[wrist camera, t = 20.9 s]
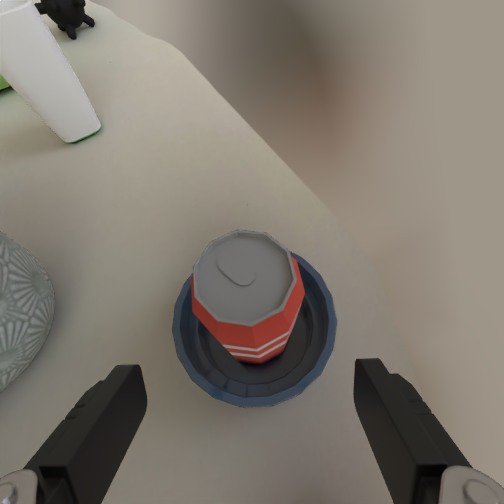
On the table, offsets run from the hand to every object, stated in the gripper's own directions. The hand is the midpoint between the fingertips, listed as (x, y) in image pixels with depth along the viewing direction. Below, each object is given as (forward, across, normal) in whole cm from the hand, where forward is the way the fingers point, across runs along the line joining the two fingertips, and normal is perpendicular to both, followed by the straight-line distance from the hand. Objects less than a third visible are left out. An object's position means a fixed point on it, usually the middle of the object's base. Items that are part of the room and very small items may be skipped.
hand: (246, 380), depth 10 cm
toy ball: (+60, +39, -41) cm, 82 cm away
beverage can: (+13, 0, +6) cm, 14 cm away
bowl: (+13, 0, +6) cm, 14 cm away
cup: (+35, +26, -16) cm, 47 cm away
